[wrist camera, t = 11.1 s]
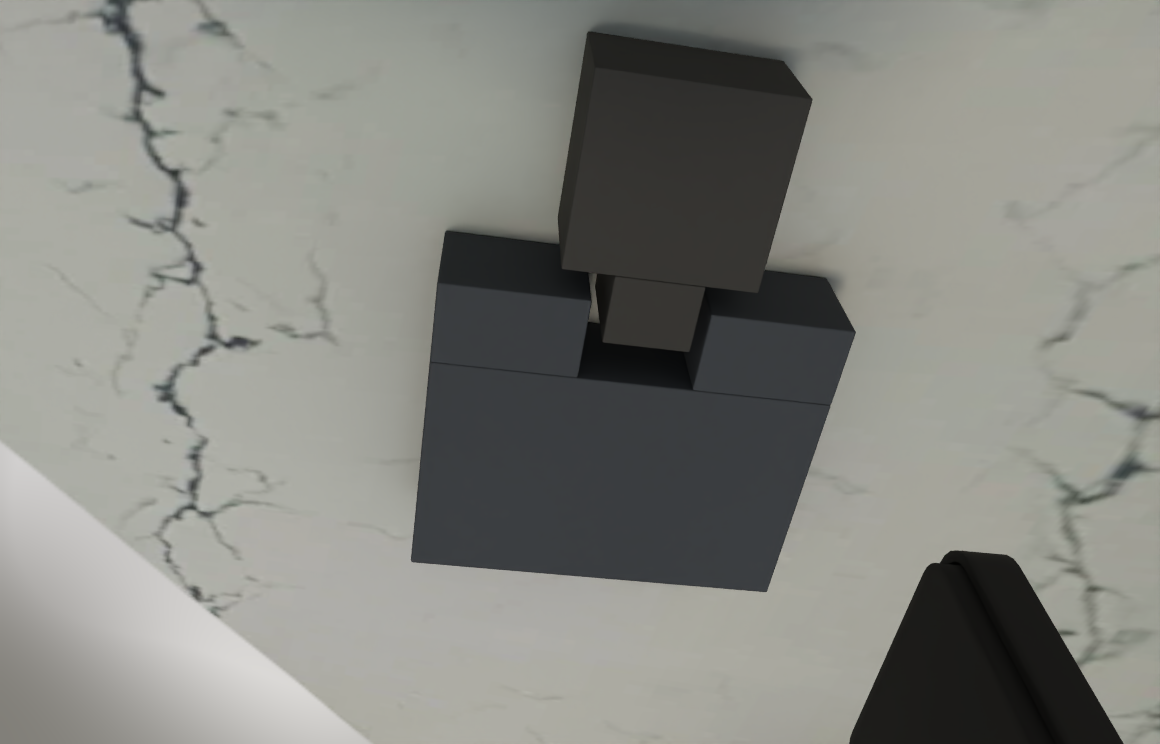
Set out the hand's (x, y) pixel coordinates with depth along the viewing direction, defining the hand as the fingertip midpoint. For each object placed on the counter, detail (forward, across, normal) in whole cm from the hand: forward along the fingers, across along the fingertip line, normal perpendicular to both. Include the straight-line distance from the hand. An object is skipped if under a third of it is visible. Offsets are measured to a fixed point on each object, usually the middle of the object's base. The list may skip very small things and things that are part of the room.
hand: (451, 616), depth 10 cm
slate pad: (+26, -6, +14) cm, 30 cm away
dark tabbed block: (+26, -6, +5) cm, 27 cm away
